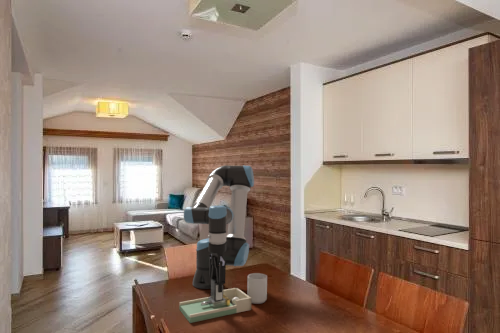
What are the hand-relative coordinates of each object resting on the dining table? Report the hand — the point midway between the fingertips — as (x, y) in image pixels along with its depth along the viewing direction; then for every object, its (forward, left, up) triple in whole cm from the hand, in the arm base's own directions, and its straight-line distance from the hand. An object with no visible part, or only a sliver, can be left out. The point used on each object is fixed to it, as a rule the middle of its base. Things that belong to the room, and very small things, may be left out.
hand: (216, 297), depth 142 cm
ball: (0, +9, -3) cm, 10 cm away
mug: (-1, +21, -5) cm, 22 cm away
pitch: (0, -1, -5) cm, 5 cm away
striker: (0, -1, -3) cm, 3 cm away
